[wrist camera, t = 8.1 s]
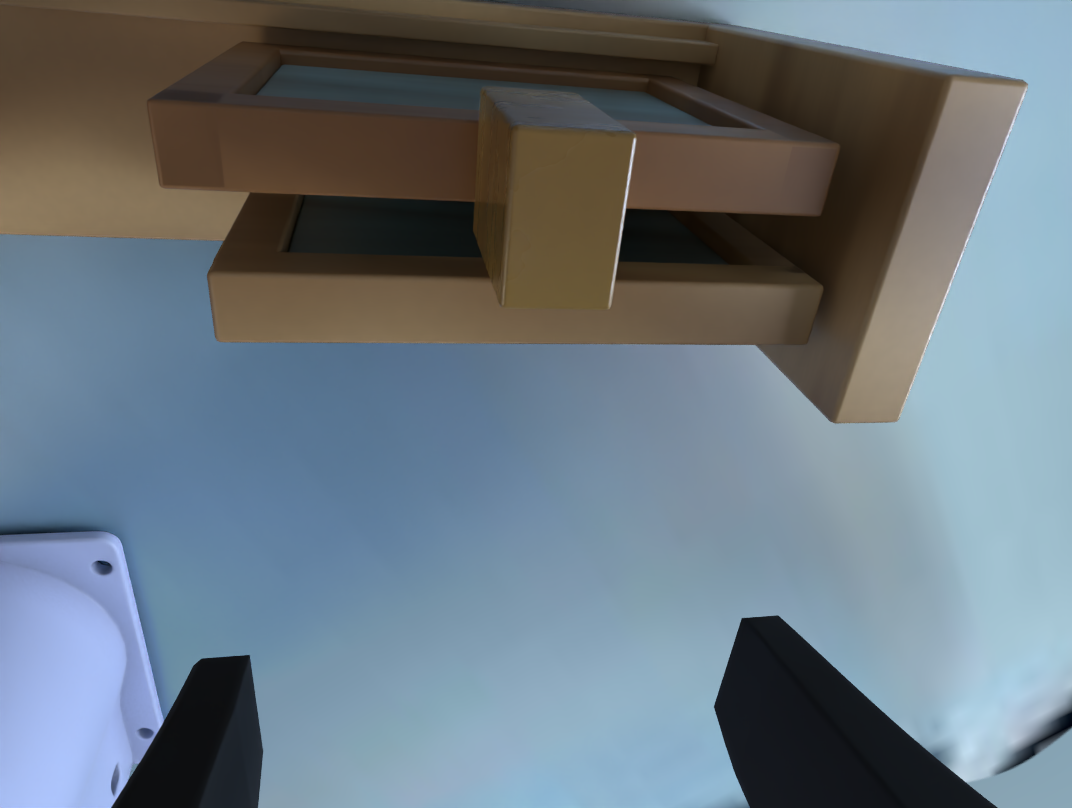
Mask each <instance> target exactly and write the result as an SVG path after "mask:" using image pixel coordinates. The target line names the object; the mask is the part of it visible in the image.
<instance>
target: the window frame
mask: <svg viewBox="0 0 1072 808" xmlns="http://www.w3.org/2000/svg"><path fill="white" fill-rule="evenodd" d="M242 41H245V42H257V43H270V44H281V45H292V46H305V47H317V48H329V49H341V50H354V51H366V52H378V53H391V54H403V55H415V56H427V57H440V58H452V59H464V60H477V61H489V62H501V63H514V64H526V65H538V66H550V67H563V68H575V69H587V70H600V71H612V72H624V73H636V74H650V75H662V76H672V77H674V78H677V79H679V80H682V81H684V82H687V83H689V84H692V85H694V86H697V87H699V88H702V89H704V90H706V91H709V92H711V93H714V94H716V95H719V96H721V97H724V98H726V99H729V100H731V101H734V102H736V103H739V104H741V105H744V106H746V107H749V108H751V109H754V110H756V111H759V112H761V113H763V114H766V115H768V116H771V117H773V118H776V119H778V120H781V121H783V122H786V123H788V124H791V125H793V126H796V127H798V128H801V129H803V130H806V131H808V132H811V133H814V134H816V135H819V136H821V137H824V138H826V139H829V140H831V141H834V142H836V143H838V144H840V152H839V155H838V159H837V162H836V166H835V169H834V173H833V176H832V180H831V183H830V187H829V190H828V194H827V198H826V201H825V205H824V208H823V212H822V214H821V216H818V217H811V216H787V215H764V214H741V213H718V212H694V211H671V210H648V209H626V214H625V220H624V227H623V233H622V240H621V246H620V253H619V259H618V266H617V273H616V279H615V286H614V292H613V299H612V304H611V307H610V309H608V310H571V309H505V308H502V307H500V305H499V302H498V299H497V297H496V294H495V291H494V288H493V285H492V282H491V280H490V277H489V274H488V271H487V268H486V265H485V263H484V260H483V257H482V254H481V251H480V249H479V246H478V243H477V240H476V237H475V234H474V232H473V223H474V204H475V202H462V201H439V200H416V199H393V198H369V197H346V196H323V195H300V194H276V193H253V192H230V191H207V190H184V189H165V188H162V187H161V186H160V185H159V181H158V175H157V168H156V162H155V155H154V149H153V143H152V136H151V130H150V123H149V117H148V111H147V104H146V103H147V100H148V99H149V98H151V97H152V96H154V95H156V94H157V93H159V92H160V91H162V90H164V89H166V88H167V87H169V86H170V85H172V84H174V83H175V82H177V81H178V80H180V79H182V78H183V77H185V76H186V75H188V74H190V73H191V72H193V71H195V70H196V69H198V68H199V67H201V66H203V65H204V64H206V63H207V62H209V61H211V60H212V59H214V58H215V57H217V56H219V55H220V54H222V53H224V52H225V51H227V50H228V49H230V48H232V47H233V46H235V45H236V44H238V43H240V42H242ZM1027 89H1028V84H1027V83H1026V82H1025V81H1023V80H1020V79H1015V78H1010V77H1005V76H999V75H994V74H989V73H983V72H978V71H973V70H968V69H962V68H957V67H952V66H947V65H941V64H936V63H931V62H925V61H920V60H915V59H910V58H904V57H899V56H894V55H889V54H883V53H878V52H873V51H867V50H862V49H857V48H852V47H846V46H841V45H836V44H831V43H825V42H820V41H815V40H809V39H804V38H799V37H794V36H788V35H783V34H778V33H773V32H767V31H762V30H757V29H752V28H746V27H741V26H736V25H725V24H715V23H705V22H695V21H684V20H674V19H664V18H654V17H643V16H633V15H623V14H613V13H602V12H592V11H582V10H572V9H561V8H551V7H541V6H531V5H521V4H510V3H500V2H490V1H480V0H0V234H14V235H47V236H80V237H113V238H146V239H178V240H211V241H224V242H223V244H222V245H221V247H220V249H219V251H218V253H217V255H216V257H215V258H214V261H213V264H212V266H211V268H210V269H209V271H208V274H207V280H208V288H209V295H210V303H211V310H212V318H213V325H214V333H215V337H216V339H217V341H219V342H284V343H490V344H695V345H756V346H757V347H758V348H759V349H760V350H761V351H762V352H763V353H764V354H765V355H766V356H767V357H768V358H769V359H770V360H771V361H772V362H773V363H774V365H775V366H776V367H777V368H778V369H779V370H780V371H781V372H782V373H783V374H784V375H785V376H786V377H787V378H788V379H789V380H790V381H791V382H792V383H793V384H794V385H795V386H796V387H797V388H798V389H799V390H800V391H801V392H802V393H803V394H804V395H805V396H806V397H807V398H808V399H809V400H810V401H811V402H812V403H813V404H814V405H815V406H816V407H817V408H818V410H819V411H820V412H821V413H822V414H823V415H824V416H825V417H826V418H827V419H828V420H829V421H830V422H833V423H883V422H896V421H898V420H899V418H900V416H901V413H902V410H903V408H904V405H905V403H906V400H907V398H908V395H909V392H910V390H911V387H912V385H913V382H914V380H915V377H916V374H917V372H918V369H919V367H920V364H921V362H922V359H923V356H924V354H925V351H926V349H927V346H928V344H929V341H930V338H931V336H932V333H933V331H934V328H935V326H936V323H937V320H938V318H939V315H940V313H941V310H942V308H943V305H944V302H945V300H946V297H947V295H948V292H949V290H950V287H951V284H952V282H953V279H954V277H955V274H956V272H957V269H958V266H959V264H960V261H961V259H962V256H963V254H964V251H965V248H966V246H967V243H968V241H969V238H970V236H971V233H972V230H973V228H974V225H975V223H976V220H977V218H978V215H979V212H980V210H981V207H982V205H983V202H984V200H985V197H986V194H987V192H988V189H989V187H990V184H991V182H992V179H993V176H994V174H995V171H996V169H997V166H998V164H999V161H1000V158H1001V156H1002V153H1003V151H1004V148H1005V146H1006V143H1007V140H1008V138H1009V135H1010V133H1011V130H1012V128H1013V125H1014V122H1015V120H1016V117H1017V115H1018V112H1019V110H1020V107H1021V104H1022V102H1023V99H1024V97H1025V94H1026V92H1027Z"/></svg>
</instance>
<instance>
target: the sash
mask: <svg viewBox="0 0 1072 808" xmlns="http://www.w3.org/2000/svg"><path fill="white" fill-rule="evenodd" d="M146 104H147V111H148V117H149V123H150V130H151V136H152V143H153V149H154V155H155V162H156V168H157V175H158V181H159V185H160V186H161V187H162V188H165V189H184V190H207V191H230V192H253V193H276V194H300V195H323V196H346V197H369V198H393V199H416V200H439V201H462V202H475V204H474V223H473V232H474V234H475V237H476V240H477V243H478V246H479V249H480V251H481V254H482V257H483V260H484V263H485V265H486V268H487V271H488V274H489V277H490V280H491V282H492V285H493V288H494V291H495V294H496V297H497V299H498V302H499V305H500V307H502V308H505V309H571V310H608V309H610V307H611V304H612V299H613V292H614V286H615V279H616V273H617V266H618V259H619V253H620V246H621V240H622V233H623V227H624V220H625V214H626V209H648V210H671V211H694V212H718V213H741V214H764V215H787V216H811V217H818V216H821V214H822V212H823V208H824V205H825V201H826V198H827V194H828V190H829V187H830V183H831V180H832V176H833V173H834V169H835V166H836V162H837V159H838V155H839V152H840V144H838V143H836V142H834V141H831V140H829V139H826V138H824V137H821V136H819V135H816V134H814V133H811V132H808V131H806V130H803V129H801V128H798V127H796V126H793V125H791V124H788V123H786V122H783V121H781V120H778V119H776V118H773V117H771V116H768V115H766V114H763V113H761V112H759V111H756V110H754V109H751V108H749V107H746V106H744V105H741V104H739V103H736V102H734V101H731V100H729V99H726V98H724V97H721V96H719V95H716V94H714V93H711V92H709V91H706V90H704V89H702V88H699V87H697V86H694V85H692V84H689V83H687V82H684V81H682V80H679V79H677V78H674V77H672V76H662V75H650V74H636V73H624V72H612V71H600V70H587V69H575V68H563V67H550V66H538V65H526V64H514V63H501V62H489V61H477V60H464V59H452V58H440V57H427V56H415V55H403V54H391V53H378V52H366V51H354V50H341V49H329V48H317V47H305V46H292V45H281V44H270V43H257V42H245V41H242V42H240V43H238V44H236V45H235V46H233V47H232V48H230V49H228V50H227V51H225V52H224V53H222V54H220V55H219V56H217V57H215V58H214V59H212V60H211V61H209V62H207V63H206V64H204V65H203V66H201V67H199V68H198V69H196V70H195V71H193V72H191V73H190V74H188V75H186V76H185V77H183V78H182V79H180V80H178V81H177V82H175V83H174V84H172V85H170V86H169V87H167V88H166V89H164V90H162V91H160V92H159V93H157V94H156V95H154V96H152V97H151V98H149V99H148V100H147V103H146Z"/></svg>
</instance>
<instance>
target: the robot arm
mask: <svg viewBox="0 0 1072 808" xmlns="http://www.w3.org/2000/svg"><path fill="white" fill-rule="evenodd" d="M99 560H101V561H106V562H108V563H110V564H111V565H102V564H100V563H99V562H97V561H99ZM714 708H715V712H716V715H717V718H718V722H719V725H720V728H721V732H722V735H723V738H724V741H725V745H726V748H727V751H728V754H729V757H730V760H731V763H732V766H733V769H734V772H735V774H736V777H737V779H738V781H739V784H740V786H741V788H742V791H743V793H744V795H745V797H746V800H747V802H748V804H749V806H750V808H997V807H996V806H995V805H993V804H992V803H991V802H990V801H988V800H987V799H986V798H984V797H983V796H982V795H981V794H979V793H978V792H977V791H976V790H974V789H973V788H972V787H970V786H969V785H968V784H967V783H966V782H965V781H963V780H962V779H961V778H960V777H958V776H957V775H956V774H955V773H954V772H952V771H951V770H950V769H949V768H947V767H946V766H945V765H944V764H943V763H941V762H940V761H939V760H938V759H936V758H935V757H934V756H933V755H932V754H931V753H929V752H928V751H927V750H926V749H925V748H923V747H922V746H921V745H920V744H919V743H918V742H916V741H915V740H914V739H913V738H912V737H911V736H910V735H908V734H907V733H906V732H905V731H904V730H903V729H902V728H900V727H899V726H898V725H897V724H896V723H895V722H894V721H892V720H891V719H890V718H889V717H888V716H887V715H886V714H885V713H884V712H882V711H881V710H880V709H879V708H878V707H877V706H876V705H875V704H874V703H872V702H871V701H870V700H869V699H868V698H867V697H866V696H865V695H864V694H863V693H861V692H860V691H859V690H858V689H857V688H856V687H855V686H854V685H853V684H852V683H851V682H850V681H848V680H847V679H846V678H845V677H844V676H843V675H842V674H841V673H840V672H839V671H838V670H837V669H836V668H834V667H833V666H832V665H831V664H830V663H829V662H828V661H827V660H826V659H825V658H824V657H823V656H822V655H821V654H819V653H818V652H817V651H816V650H815V649H814V648H813V647H812V646H811V645H810V644H809V643H808V642H807V641H806V640H804V639H803V638H802V637H801V636H800V635H799V634H798V633H797V632H796V631H795V630H794V629H793V628H791V627H790V626H789V625H788V624H787V623H786V622H785V621H784V620H783V619H781V618H780V617H779V616H766V617H752V618H742V620H741V623H740V626H739V629H738V632H737V635H736V639H735V642H734V645H733V648H732V651H731V654H730V658H729V661H728V664H727V667H726V670H725V673H724V677H723V680H722V683H721V686H720V689H719V692H718V696H717V699H716V702H715V705H714ZM262 757H263V748H262V741H261V733H260V726H259V719H258V712H257V705H256V698H255V691H254V683H253V676H252V669H251V662H250V655H244V656H231V657H217V658H204V659H201V660H199V661H198V662H197V663H196V664H195V665H194V666H193V668H192V670H191V672H190V674H189V676H188V678H187V680H186V682H185V684H184V686H183V687H182V689H181V691H180V693H179V695H178V697H177V699H176V701H175V702H174V704H173V706H172V708H171V710H170V711H169V713H168V715H167V717H166V719H165V720H163V716H162V712H161V707H160V703H159V699H158V695H157V690H156V686H155V682H154V678H153V674H152V669H151V665H150V661H149V657H148V652H147V648H146V644H145V640H144V635H143V631H142V627H141V623H140V618H139V614H138V610H137V606H136V601H135V597H134V593H133V589H132V585H131V580H130V576H129V572H128V568H127V563H126V559H125V555H124V551H123V546H122V543H121V541H120V540H119V538H117V537H116V536H115V535H113V534H111V533H108V532H103V531H88V532H64V533H40V534H16V535H0V808H258V800H259V790H260V779H261V768H262ZM138 763H139V764H138ZM132 764H138V766H137V768H136V769H135V771H134V772H133V774H132V775H131V777H130V779H129V780H128V778H129V774H130V771H131V768H132ZM127 781H128V782H127Z"/></svg>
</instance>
